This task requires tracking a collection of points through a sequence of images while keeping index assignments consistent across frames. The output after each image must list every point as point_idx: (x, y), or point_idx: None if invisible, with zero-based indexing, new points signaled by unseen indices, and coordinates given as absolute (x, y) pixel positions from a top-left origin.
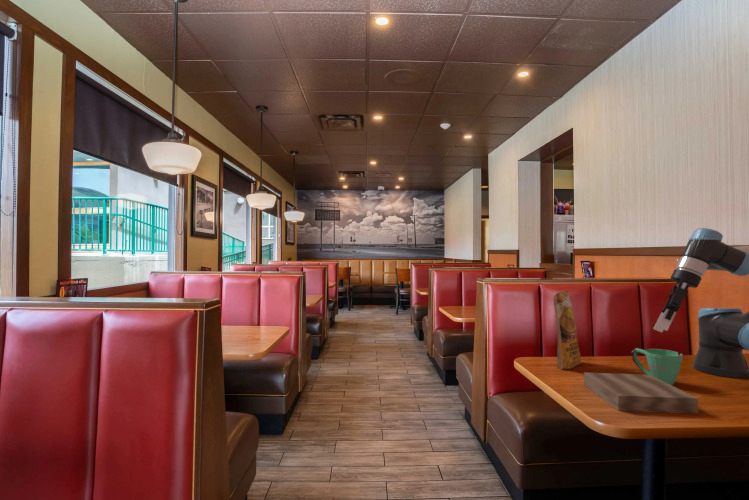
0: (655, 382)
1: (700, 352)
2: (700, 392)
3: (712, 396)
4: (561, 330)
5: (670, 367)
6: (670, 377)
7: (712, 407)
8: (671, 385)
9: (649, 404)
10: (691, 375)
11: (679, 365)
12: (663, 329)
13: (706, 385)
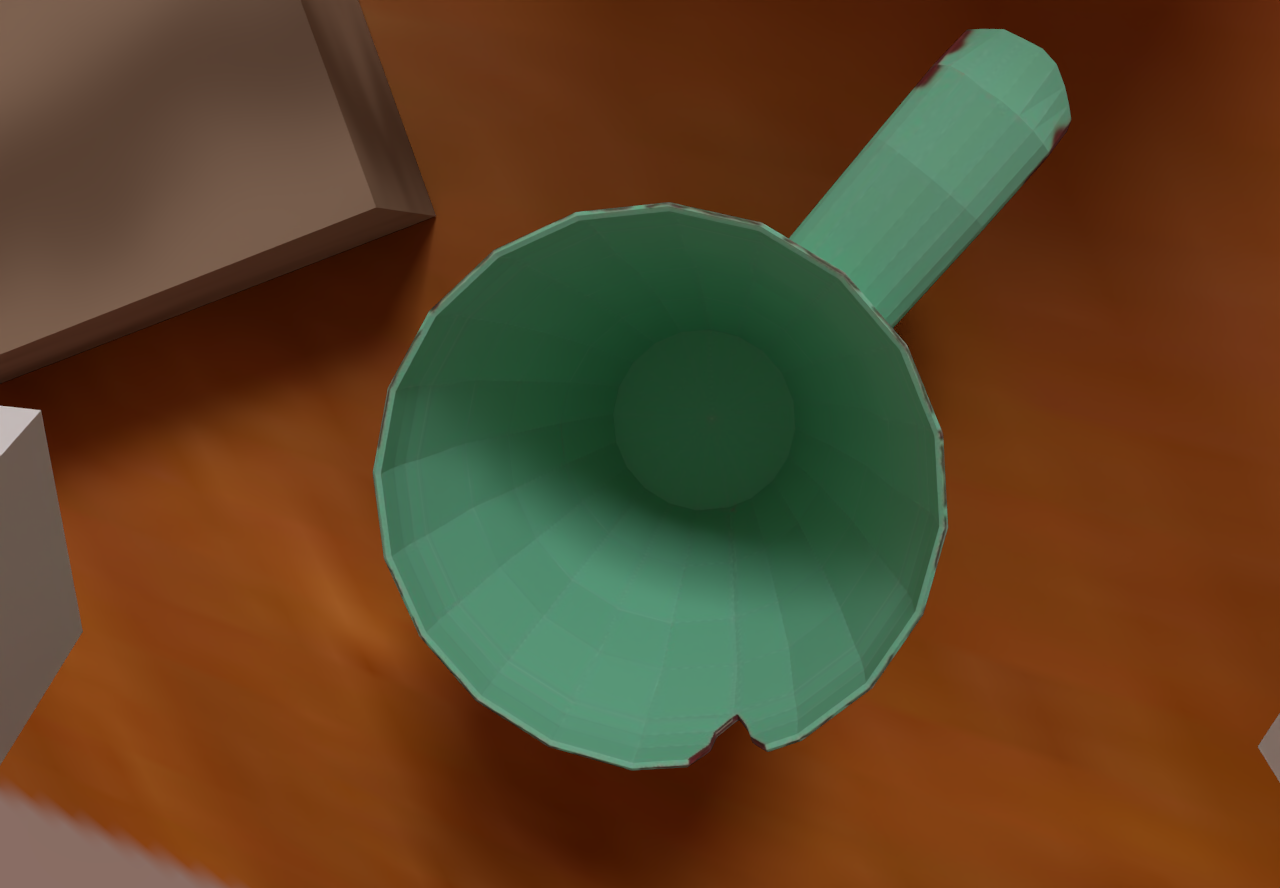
0: (40, 196)
1: None
2: None
3: (404, 754)
4: None
5: (476, 494)
6: (556, 475)
7: None
8: (7, 347)
9: None
10: (1234, 857)
11: (552, 633)
12: (58, 559)
13: (808, 853)
